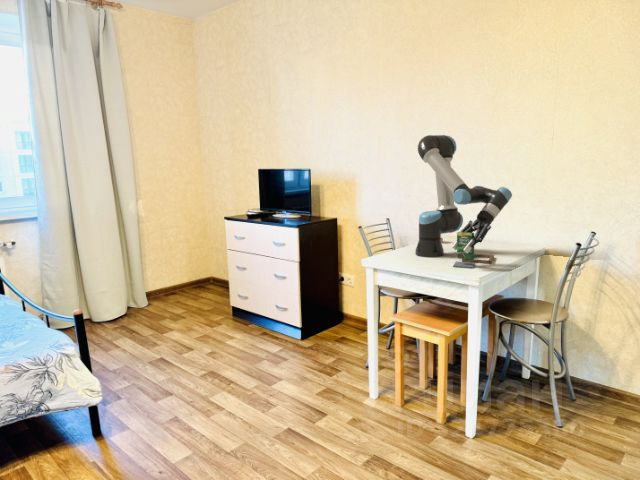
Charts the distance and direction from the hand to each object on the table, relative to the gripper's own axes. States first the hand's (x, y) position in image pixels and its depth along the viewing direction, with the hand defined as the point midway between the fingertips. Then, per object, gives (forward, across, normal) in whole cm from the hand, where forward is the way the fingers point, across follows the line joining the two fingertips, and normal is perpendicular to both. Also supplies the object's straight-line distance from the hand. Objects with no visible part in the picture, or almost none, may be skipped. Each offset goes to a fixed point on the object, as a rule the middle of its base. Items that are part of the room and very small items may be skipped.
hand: (459, 250), depth 212 cm
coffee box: (+1, 0, -6) cm, 6 cm away
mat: (+3, 0, -8) cm, 9 cm away
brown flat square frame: (-7, +8, -18) cm, 21 cm away
